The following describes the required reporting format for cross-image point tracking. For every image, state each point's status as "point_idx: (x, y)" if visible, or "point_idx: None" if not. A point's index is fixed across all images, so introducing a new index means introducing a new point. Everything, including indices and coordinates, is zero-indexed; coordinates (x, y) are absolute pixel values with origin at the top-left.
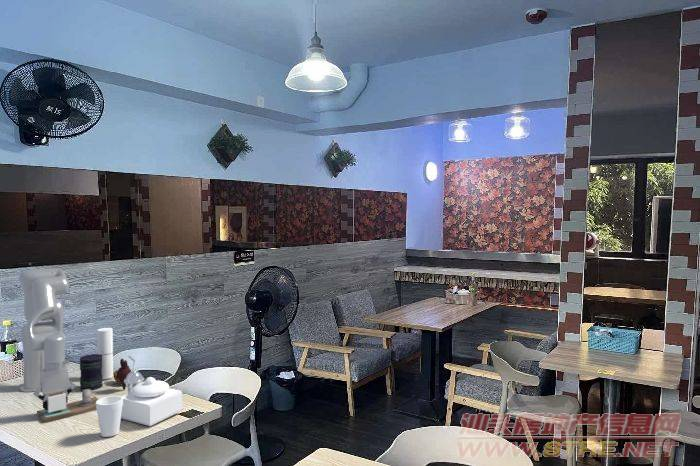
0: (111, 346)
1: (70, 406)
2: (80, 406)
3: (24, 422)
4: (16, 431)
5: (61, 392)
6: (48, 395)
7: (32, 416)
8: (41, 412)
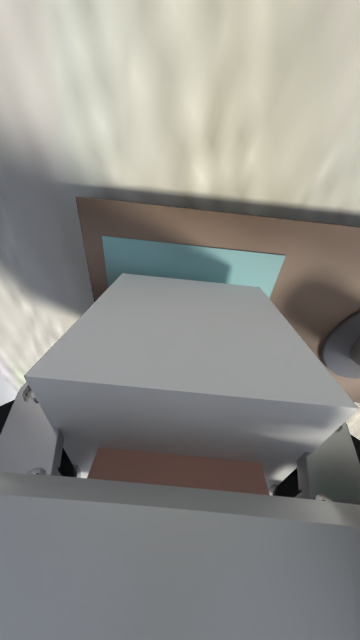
0: None
1: (292, 309)
2: (320, 352)
3: (23, 285)
4: (7, 359)
5: (271, 462)
6: (92, 448)
7: (61, 213)
8: (106, 271)
